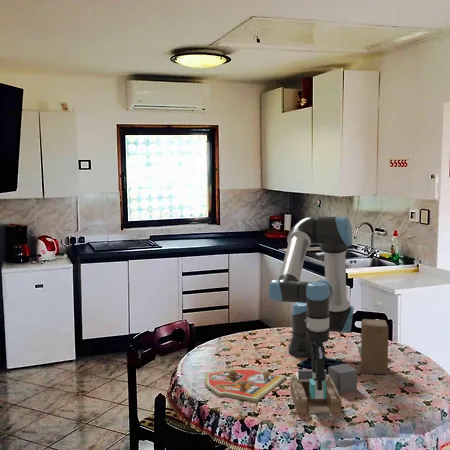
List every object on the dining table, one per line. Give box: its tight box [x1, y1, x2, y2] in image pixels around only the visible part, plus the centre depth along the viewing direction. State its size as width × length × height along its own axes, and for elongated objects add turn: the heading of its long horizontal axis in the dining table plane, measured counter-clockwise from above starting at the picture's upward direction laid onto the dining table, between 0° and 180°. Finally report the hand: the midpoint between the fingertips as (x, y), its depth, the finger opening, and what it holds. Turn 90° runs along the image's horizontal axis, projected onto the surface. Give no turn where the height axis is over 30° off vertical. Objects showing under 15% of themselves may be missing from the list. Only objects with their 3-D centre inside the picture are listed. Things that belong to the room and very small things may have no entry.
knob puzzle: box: [204, 367, 287, 404], centre depth 214 cm, size 29×30×4 cm
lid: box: [294, 368, 328, 382], centre depth 203 cm, size 7×11×4 cm, turn 89°
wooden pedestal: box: [290, 374, 342, 415], centre depth 195 cm, size 19×15×6 cm
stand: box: [327, 363, 358, 394], centre depth 206 cm, size 8×8×8 cm
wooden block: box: [360, 318, 389, 375], centre depth 224 cm, size 10×10×20 cm
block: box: [309, 379, 326, 399], centre depth 188 cm, size 5×5×5 cm
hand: (317, 394), depth 188 cm, fingers closed on block, 5 cm apart
